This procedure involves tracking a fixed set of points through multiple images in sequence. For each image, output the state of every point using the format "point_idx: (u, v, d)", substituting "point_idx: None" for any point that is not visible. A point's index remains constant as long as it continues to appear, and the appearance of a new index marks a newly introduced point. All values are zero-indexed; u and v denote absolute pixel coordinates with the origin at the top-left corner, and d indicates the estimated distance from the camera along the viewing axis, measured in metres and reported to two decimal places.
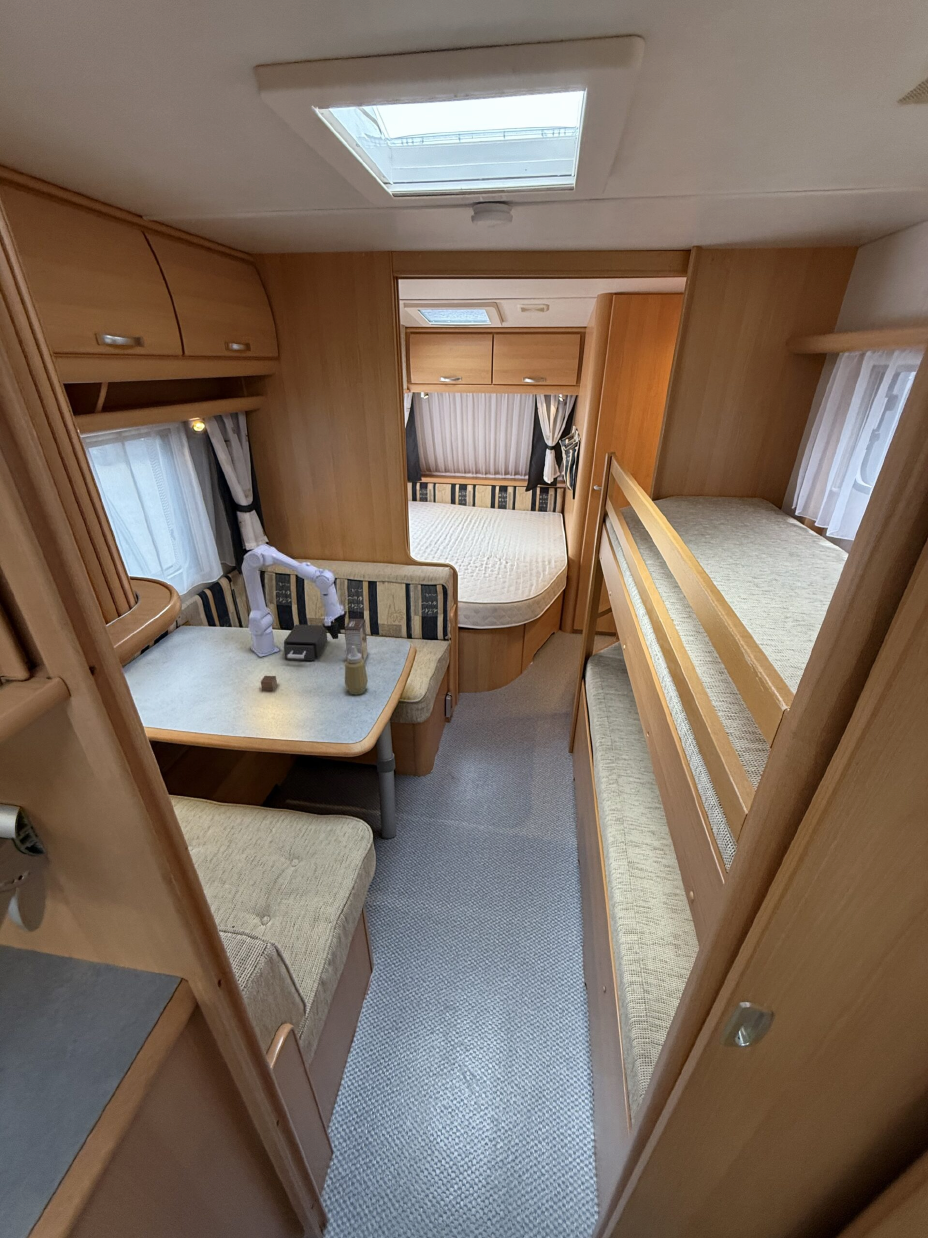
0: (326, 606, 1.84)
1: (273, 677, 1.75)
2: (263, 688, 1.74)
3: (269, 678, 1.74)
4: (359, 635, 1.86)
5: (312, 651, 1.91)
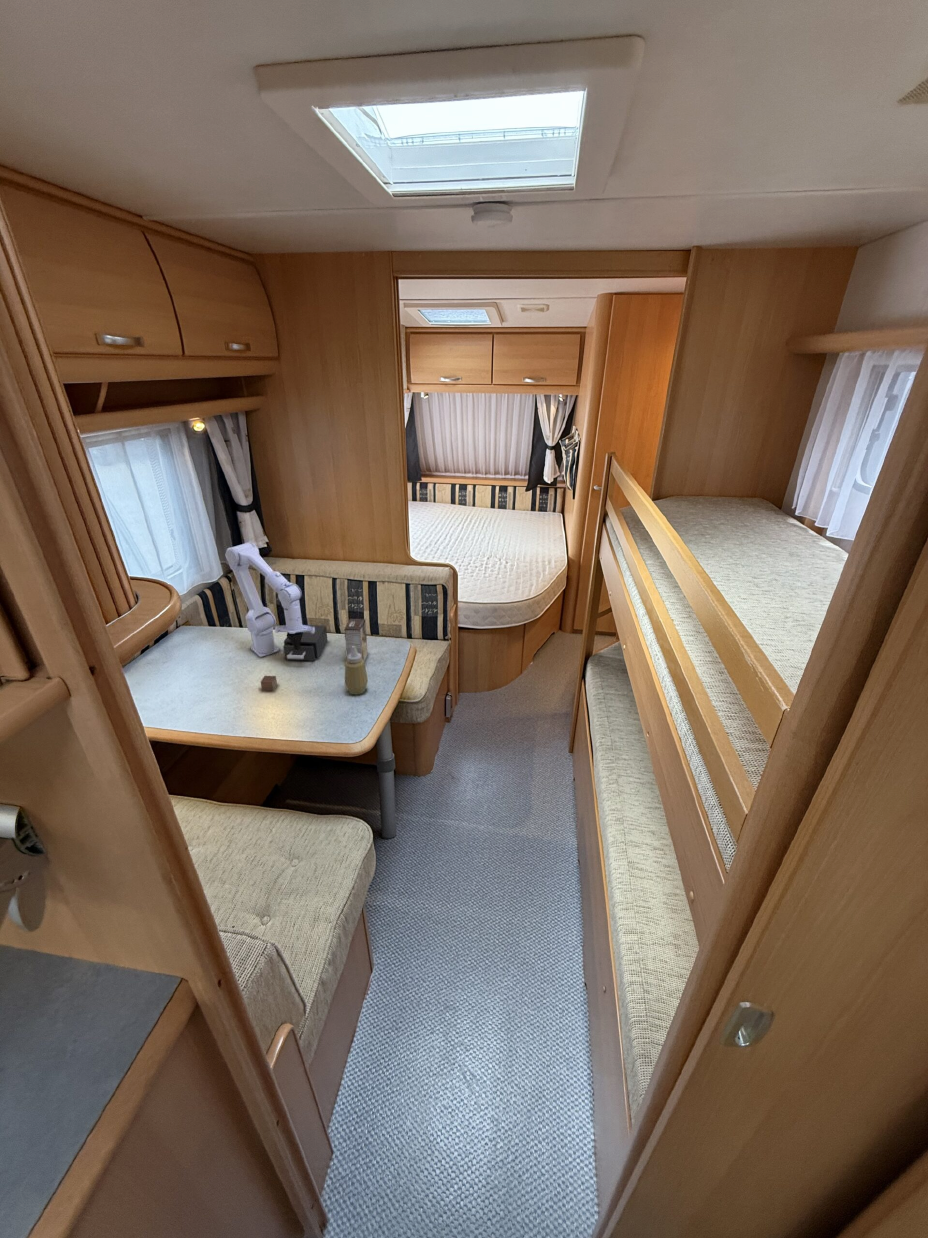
0: None
1: (273, 677, 1.75)
2: (263, 688, 1.74)
3: (269, 678, 1.74)
4: (359, 635, 1.86)
5: (312, 651, 1.90)
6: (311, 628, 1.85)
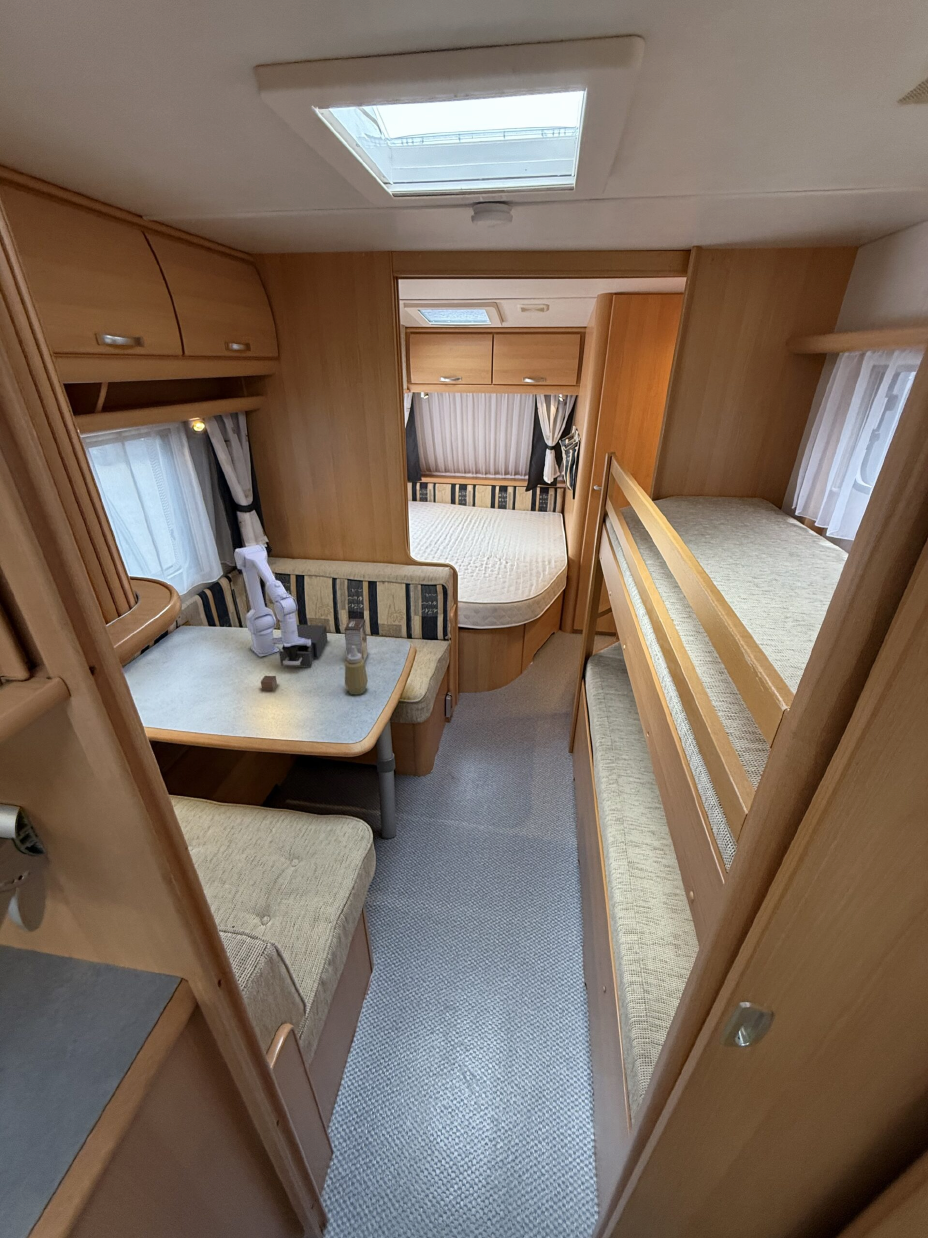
0: None
1: (273, 677, 1.75)
2: (263, 688, 1.74)
3: (269, 678, 1.74)
4: (359, 635, 1.86)
5: (308, 657, 1.86)
6: (307, 641, 1.81)
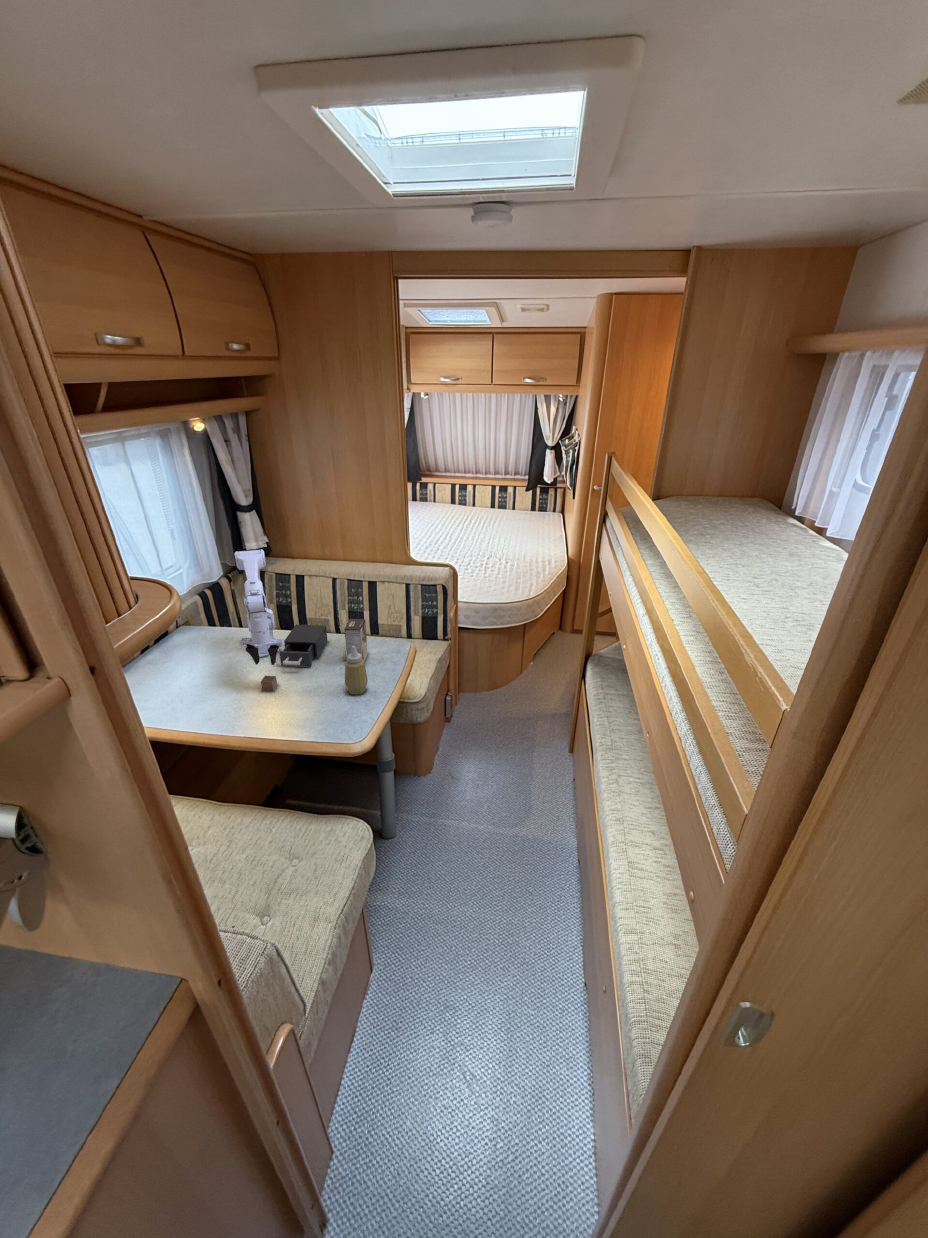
0: None
1: (273, 677, 1.75)
2: (263, 688, 1.74)
3: (269, 678, 1.74)
4: (359, 635, 1.86)
5: (308, 657, 1.86)
6: (280, 641, 1.67)
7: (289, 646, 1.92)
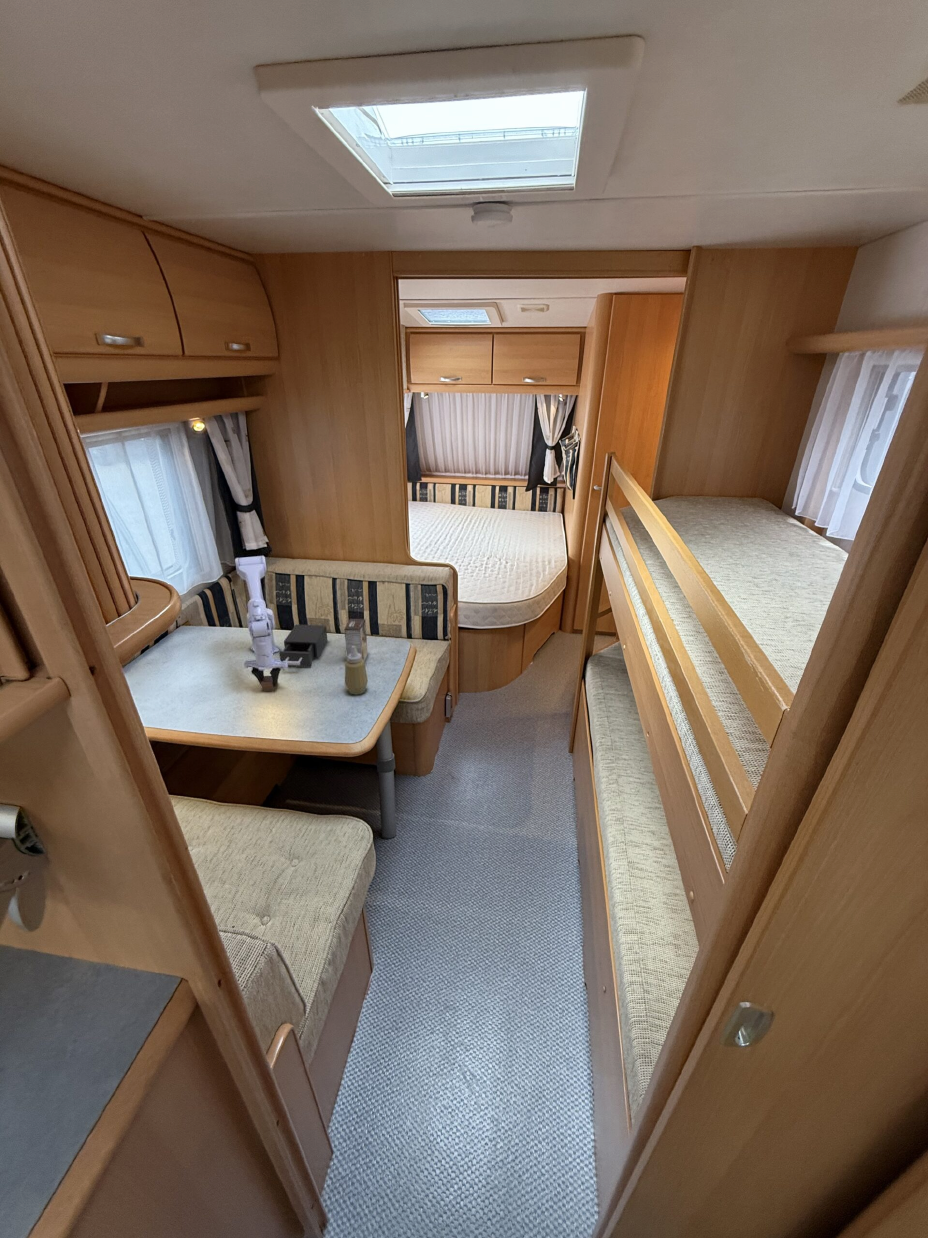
0: None
1: None
2: (263, 688, 1.74)
3: (269, 678, 1.74)
4: (359, 635, 1.86)
5: (308, 657, 1.86)
6: (283, 664, 1.71)
7: (289, 646, 1.92)
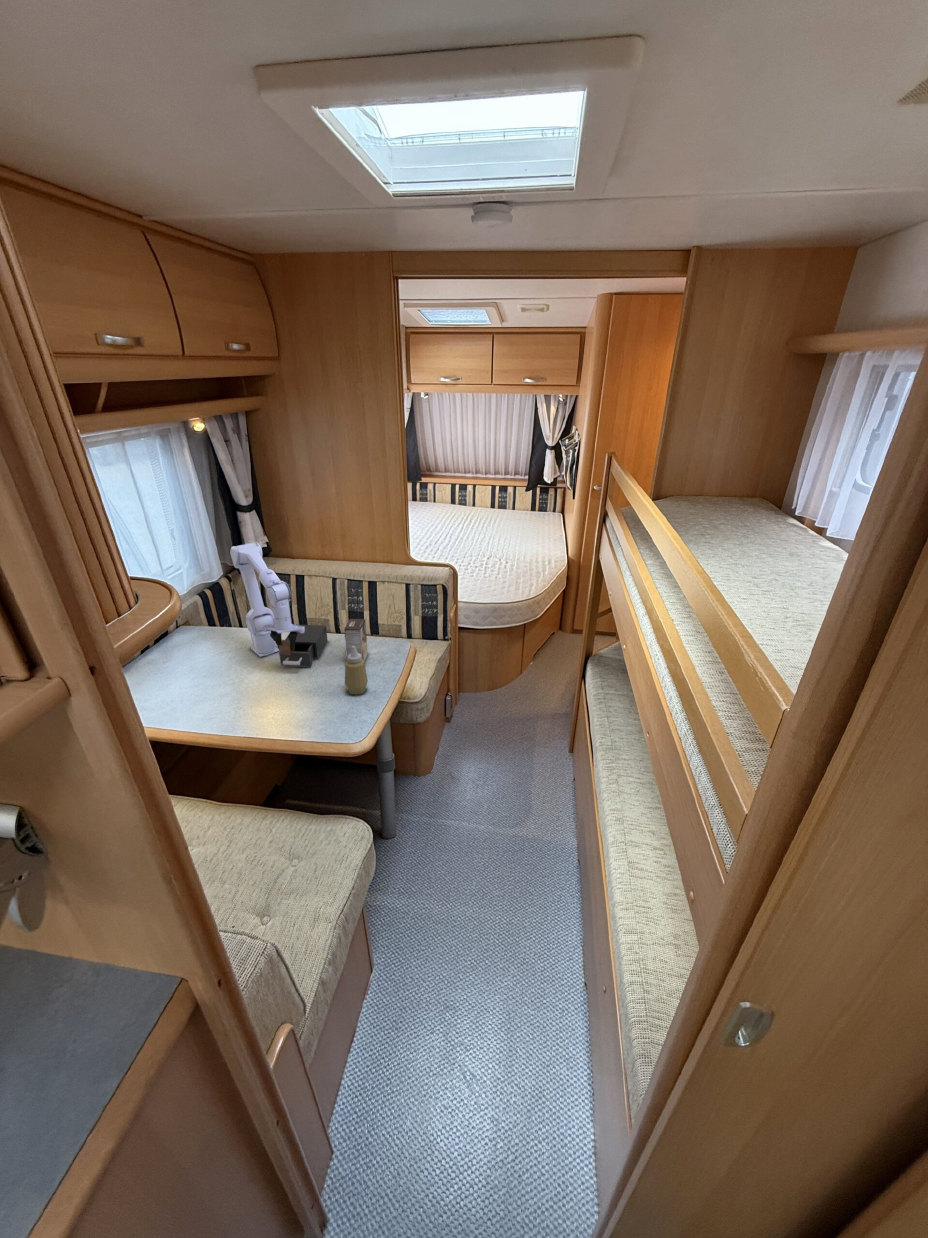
0: None
1: None
2: (281, 651, 1.81)
3: (286, 642, 1.81)
4: (359, 635, 1.86)
5: (308, 657, 1.86)
6: (301, 628, 1.78)
7: None
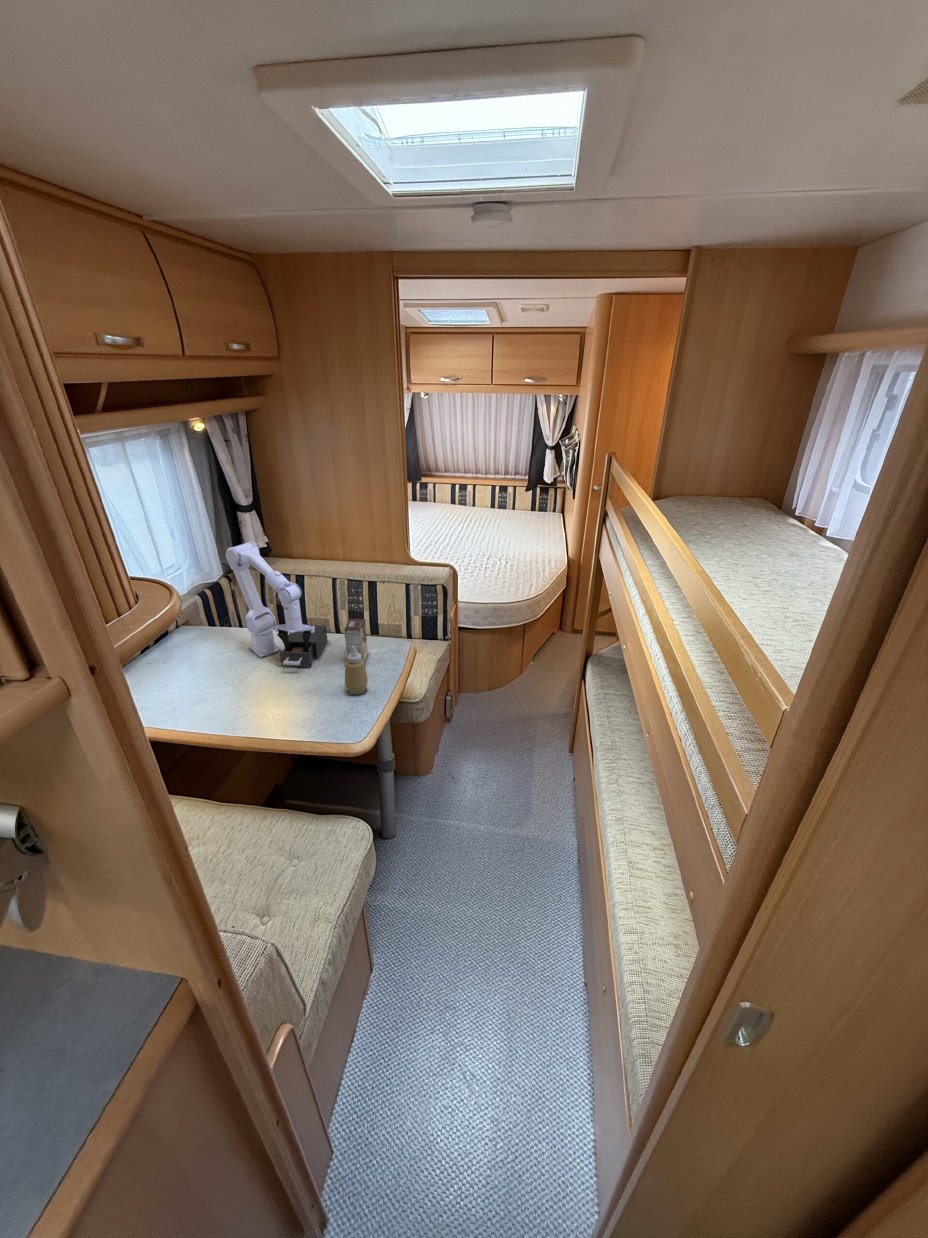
0: None
1: (302, 648, 1.90)
2: None
3: (298, 649, 1.89)
4: (359, 635, 1.86)
5: (308, 657, 1.86)
6: (311, 627, 1.85)
7: (289, 646, 1.92)
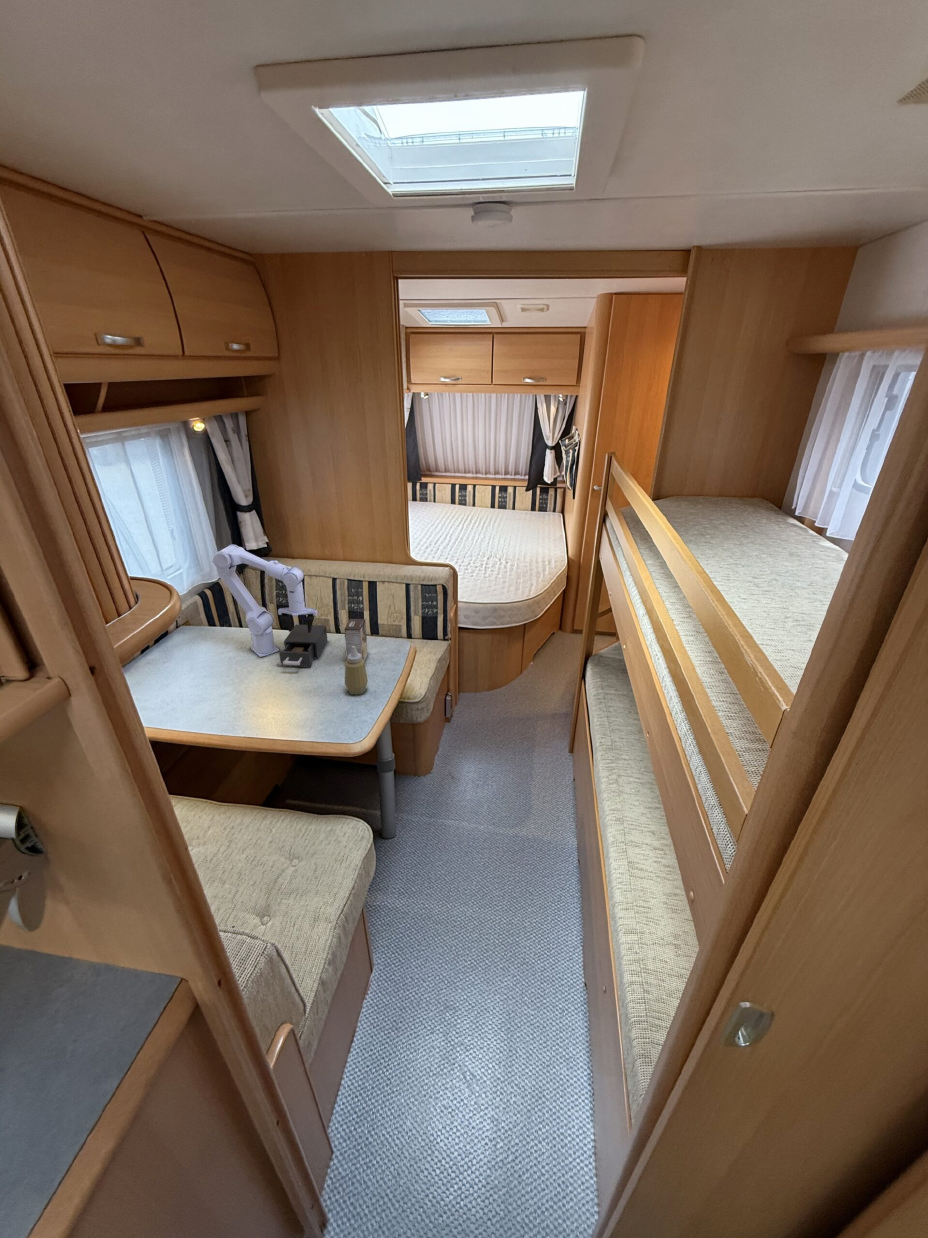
0: None
1: (302, 648, 1.90)
2: None
3: (298, 649, 1.89)
4: (359, 635, 1.86)
5: (308, 657, 1.86)
6: None
7: (289, 646, 1.92)
